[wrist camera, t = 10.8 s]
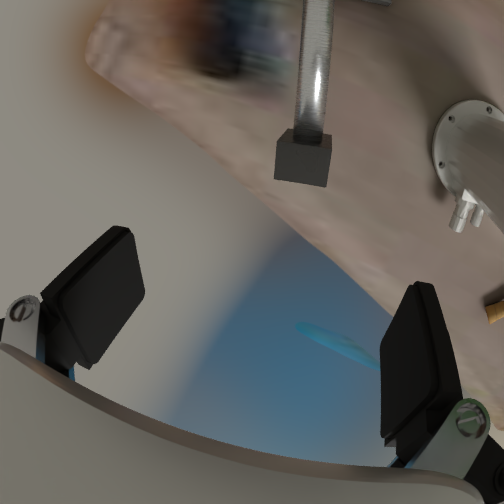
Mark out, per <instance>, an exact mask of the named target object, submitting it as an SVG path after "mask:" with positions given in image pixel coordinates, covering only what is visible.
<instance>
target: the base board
mask: <svg viewBox="0 0 504 504" xmlns="http://www.w3.org/2000/svg"><path fill="white" fill-rule="evenodd" d="M363 1H368V2H373V3H377V4H381V5H386V6H389V5H390V4H391V0H363Z"/></svg>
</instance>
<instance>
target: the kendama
mask: <svg viewBox="0 0 504 504" xmlns="http://www.w3.org/2000/svg"><path fill="white" fill-rule="evenodd" d="M485 308H486V313H487V316H488V321H489V324H491V323H493V322H495V321H497V319H500V318H502V317H504V301H501V302H498V303H495V304H494V305H493V304H492V305H489V306H486V307H485Z"/></svg>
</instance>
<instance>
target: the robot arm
mask: <svg viewBox="0 0 504 504" xmlns="http://www.w3.org/2000/svg"><path fill="white" fill-rule="evenodd" d="M486 108H487V111H486ZM449 116H450V117H451V119H450V120H449V119H448V118H449ZM432 158H433V163H434V167H435V170H436V172H437V175H438V177H439V179H440V180H441V182H442V184H443V185H444V186H445V187H446V189H447V190H448V191H449V192H450V193H451V194H452V195H453V196H455V197H456V198H455V202H456V203H457V205H456V208H455V211H454V212H453V215H452V218H451V220H450V223H449V227H450V228H451V229H452V230H454V231H456V232H462V231H463V228H464V225H465V223H466V220H467V215H468V212H469V210H470V209H473V207H474V204H475V205H476V207H475V210H474V212H473V214H472V217H471V220H470V223H471V224H472V225H474V226H476V227H479V226H480V223H481V220H482V218H483V217H482V216H483V213H484V211H485V213H486V214H487V215H488V216H489V217H490V218H491V220H492V221H493V222H494V223H495V224H496V225H497V227H498V228H499V229H500V230H501V232H502V233H503V234H504V114H503V113H502V112H501V111H500V110H499V109H498V108H496V107H495V106H493V105H492V104H489V103H487V102H484V101H480V100H465V101H460V102H458V103H456V104H454V105H453V106H451V107H450V108H449V109H448V110H447V111H446V112H445V113H444V114H443V116H442V117H441V118H440V120H439V122H438V124H437V126H436V129H435V132H434V135H433V142H432ZM439 162H441V164H440V165H439ZM40 294H41V296H42V299H43V301H42V302H41V303H40V301H39V300H38V298H37V297H35V296H32V295H26V296H23V297H20V298H18V299H17V300H15V301H14V302H13V303H12V304H11V305H10V307H9V308H8V310H7V312H6V316H5V318H2V319H0V504H504V449H502V447H501V446H500V445H499V444H498V443H497V442H495V440H494V439H493V438H491V436H490V435H489V434H488V433H489V430H490V417H489V414H488V412H487V410H486V408H485V407H484V406H483V405H482V404H481V403H480V402H479V401H477V400H475V399H471V398H467V399H463V396H462V389H461V384H460V379H459V374H458V369H457V365H456V360H455V356H454V352H453V348H452V344H451V340H450V336H449V332H448V330H447V327H446V324H445V320H444V317H443V314H442V310H441V307H440V304H439V301H438V297H437V294H436V291H435V288H434V286H433V284H430V283H425V282H419V281H416V282H415V283H414V284H413V285H409V286H408V288H407V290H406V292H405V294H404V297H403V299H402V301H401V303H400V305H399V307H398V309H397V311H396V313H395V316H394V318H393V320H392V322H391V324H390V326H389V328H388V330H387V331H386V333H385V335H384V337H383V339H382V341H381V345H380V368H381V431H380V433H381V437H382V438H385V447H396V455H397V456H396V457H395V458H394V459H393V460H392V462H391V463H390V464H389V465H388V466H387V467H370V466H355V465H344V464H334V463H326V462H318V461H310V460H303V459H297V458H291V457H285V456H280V455H275V454H270V453H265V452H260V451H255V450H252V449H247V448H243V447H239V446H235V445H232V444H228V443H224V442H220V441H217V440H214V439H210V438H207V437H203V436H200V435H197V434H194V433H191V432H188V431H185V430H182V429H179V428H177V427H174V426H171V425H168V424H166V423H163V422H160V421H158V420H155V419H153V418H150V417H148V416H145V415H143V414H141V413H138V412H136V411H133V410H131V409H129V408H127V407H125V406H122V405H120V404H118V403H116V402H114V401H112V400H109V399H107V398H105V397H103V396H101V395H99V394H97V393H95V392H93V391H91V390H89V389H88V388H86V387H84V386H82V385H80V384H78V383H76V382H75V375H74V364H75V363H76V361H77V363H78V364H79V365H81V366H82V367H84V368H86V369H88V370H90V368H91V367H92V365H93V364H95V363H97V362H98V361H99V360H100V358H101V357H102V356H103V354H104V353H105V351H106V350H107V348H108V347H109V345H110V344H111V343H112V341H113V340H114V338H115V337H116V336H117V334H118V333H119V331H120V330H121V329H122V327H123V326H124V324H125V323H126V322H127V320H128V319H129V318H130V316H131V315H132V313H133V312H134V311H135V309H136V308H137V307H138V305H139V304H140V303H141V301H142V300H143V298H144V295H145V288H144V284H143V279H142V274H141V270H140V265H139V260H138V255H137V250H136V244H135V239H134V235H133V233H131V231H130V229H129V228H126V227H121V226H112V227H111V228H110V229H109V230H107V231H106V232H105V233H104V234H103V235H102V236H101V237H99V238H98V239H97V240H96V241H95V242H94V243H93V244H91V245H90V246H89V247H88V248H87V249H86V250H85V251H84V252H83V253H81V254H80V255H79V256H78V257H77V258H76V259H75V260H74V261H73V262H72V263H71V264H69V265H68V267H66V268H65V269H64V270H63V271H62V272H61V273H60V274H59V275H58V276H57V277H56V278H55V279H54V280H53V281H52V282H51V283H50V284H49V285H48V286H47V287H46V288H45V289H44V290H43V291H42V292H41V293H40Z"/></svg>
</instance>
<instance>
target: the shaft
mask: <svg viewBox="0 0 504 504" xmlns="http://www.w3.org/2000/svg"><path fill="white" fill-rule="evenodd" d="M334 4H335V0H303V14H302V30H301V44H300V58H299V71H298V83H297V95H296V106H295V117H294V128H293V129H289V128H288V129H287V130H286V131H285V132H284V134H283V135H282V136H281V137H280V138H279V139H278V141H277V147H276V159H275V171H274V179H277V180H283V181H290V182H296V183H302V184H308V185H314V186H320V187H326V185H327V179H328V172H329V166H330V159H331V152H332V135H329V134H323V128H324V120H325V111H326V102H327V93H328V83H329V73H330V62H331V50H332V37H333V22H334Z"/></svg>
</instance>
